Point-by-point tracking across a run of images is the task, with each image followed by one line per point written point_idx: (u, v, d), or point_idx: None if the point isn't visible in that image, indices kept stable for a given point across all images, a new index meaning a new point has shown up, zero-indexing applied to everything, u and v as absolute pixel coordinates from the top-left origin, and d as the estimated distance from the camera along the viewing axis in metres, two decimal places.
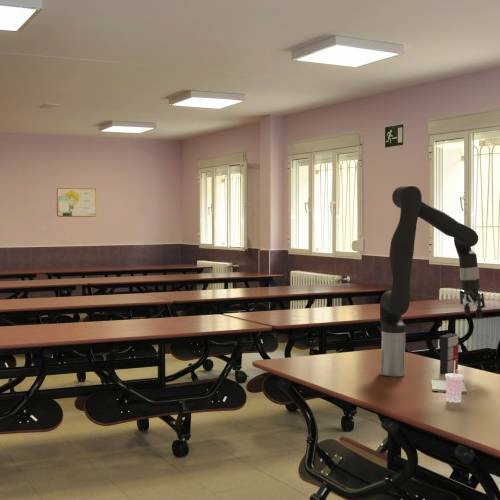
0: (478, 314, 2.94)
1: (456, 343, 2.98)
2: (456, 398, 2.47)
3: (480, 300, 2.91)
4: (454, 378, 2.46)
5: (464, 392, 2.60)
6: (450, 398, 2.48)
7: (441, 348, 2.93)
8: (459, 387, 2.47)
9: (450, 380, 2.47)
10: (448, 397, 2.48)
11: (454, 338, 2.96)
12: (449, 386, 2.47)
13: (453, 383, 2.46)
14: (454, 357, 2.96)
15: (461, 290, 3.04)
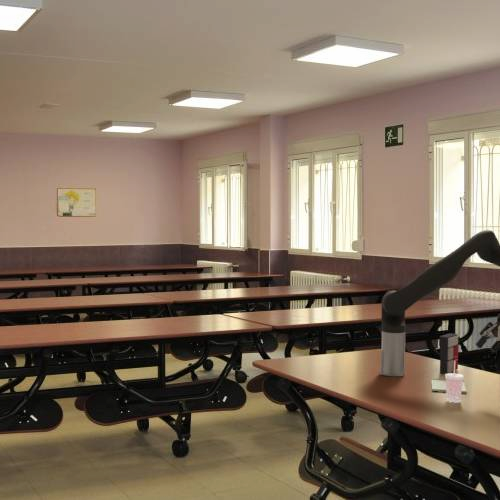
0: None
1: (456, 343, 2.98)
2: (456, 398, 2.47)
3: None
4: (454, 378, 2.46)
5: (464, 392, 2.60)
6: (450, 398, 2.48)
7: (441, 348, 2.93)
8: (459, 387, 2.47)
9: (450, 380, 2.47)
10: (448, 397, 2.48)
11: (454, 338, 2.96)
12: (449, 386, 2.47)
13: (453, 383, 2.46)
14: (454, 357, 2.96)
15: None
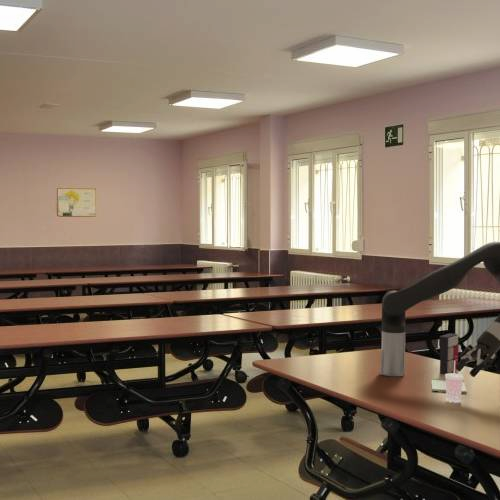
0: None
1: (456, 343, 2.98)
2: (456, 398, 2.47)
3: None
4: (454, 378, 2.46)
5: (464, 392, 2.60)
6: (450, 398, 2.48)
7: (441, 348, 2.93)
8: (459, 387, 2.47)
9: (450, 380, 2.47)
10: (448, 397, 2.48)
11: (454, 338, 2.96)
12: (449, 386, 2.47)
13: (453, 383, 2.46)
14: (454, 357, 2.96)
15: (495, 355, 2.45)
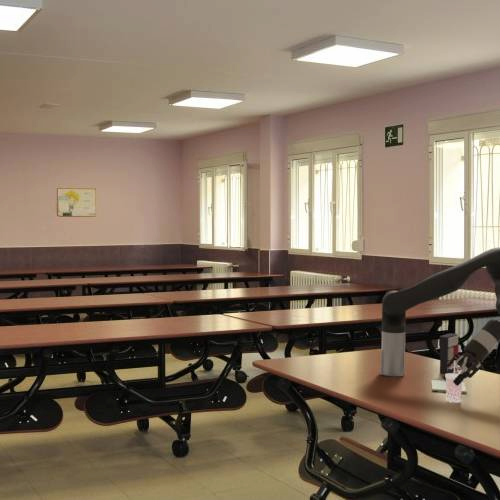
0: None
1: (456, 343, 2.98)
2: (456, 398, 2.47)
3: None
4: (454, 378, 2.46)
5: (464, 392, 2.60)
6: (450, 398, 2.48)
7: (441, 348, 2.93)
8: (459, 387, 2.47)
9: (450, 380, 2.47)
10: (448, 397, 2.48)
11: (454, 338, 2.96)
12: (449, 386, 2.47)
13: (453, 383, 2.46)
14: None
15: (480, 364, 2.44)
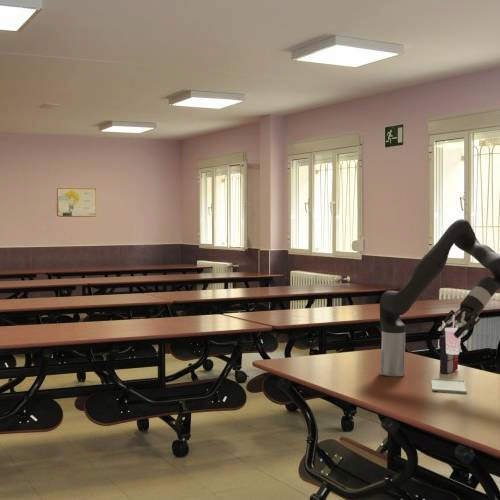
0: None
1: None
2: (456, 350, 2.62)
3: None
4: (454, 331, 2.61)
5: (464, 392, 2.60)
6: (450, 350, 2.62)
7: (441, 348, 2.93)
8: (459, 340, 2.62)
9: (450, 333, 2.61)
10: (448, 349, 2.63)
11: None
12: (449, 339, 2.62)
13: (453, 336, 2.61)
14: (454, 357, 2.96)
15: (478, 317, 2.61)
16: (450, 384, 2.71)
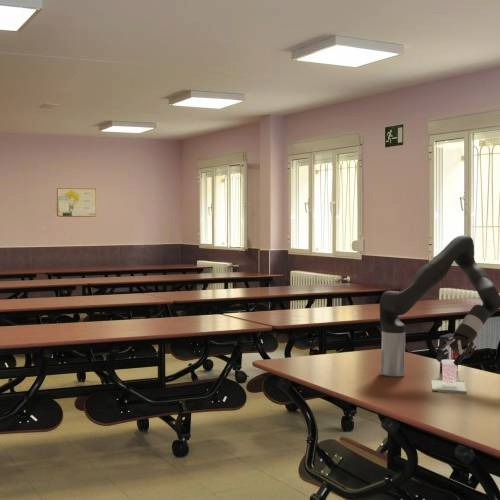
0: None
1: None
2: (453, 382, 2.69)
3: None
4: (452, 363, 2.67)
5: (464, 392, 2.60)
6: (447, 382, 2.69)
7: None
8: (455, 372, 2.69)
9: (448, 365, 2.68)
10: (445, 381, 2.69)
11: None
12: (446, 371, 2.69)
13: (451, 368, 2.68)
14: (454, 357, 2.96)
15: None
16: None
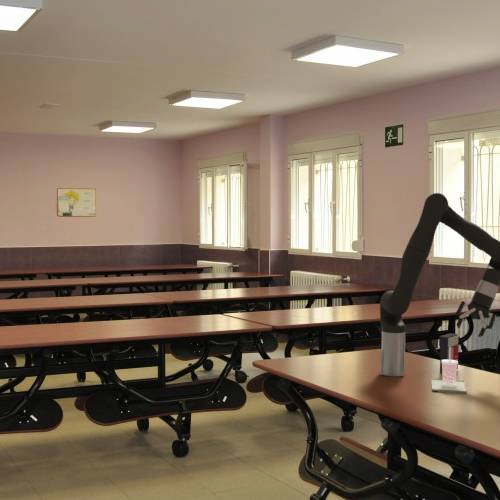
0: None
1: (456, 343, 2.98)
2: (453, 382, 2.69)
3: None
4: (452, 363, 2.68)
5: (464, 392, 2.60)
6: (447, 382, 2.69)
7: (441, 348, 2.93)
8: (455, 372, 2.69)
9: (448, 365, 2.68)
10: (445, 381, 2.69)
11: (454, 338, 2.96)
12: (446, 371, 2.69)
13: (450, 368, 2.68)
14: (454, 357, 2.96)
15: None
16: None
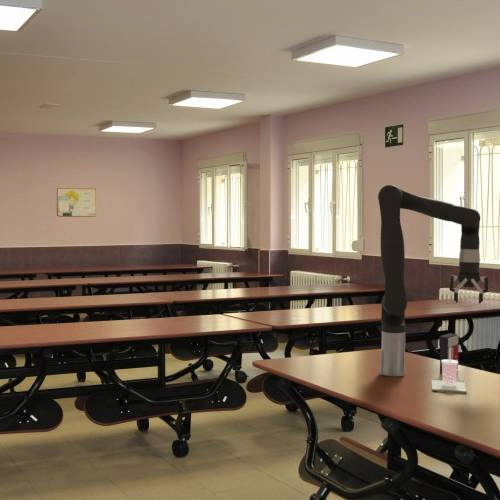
0: None
1: (456, 343, 2.98)
2: (453, 382, 2.69)
3: None
4: (452, 363, 2.68)
5: (464, 392, 2.60)
6: (447, 382, 2.69)
7: (441, 348, 2.93)
8: (455, 372, 2.69)
9: (448, 365, 2.68)
10: (445, 381, 2.69)
11: (454, 338, 2.96)
12: (446, 371, 2.69)
13: (450, 368, 2.68)
14: (454, 357, 2.96)
15: (485, 276, 2.79)
16: None
